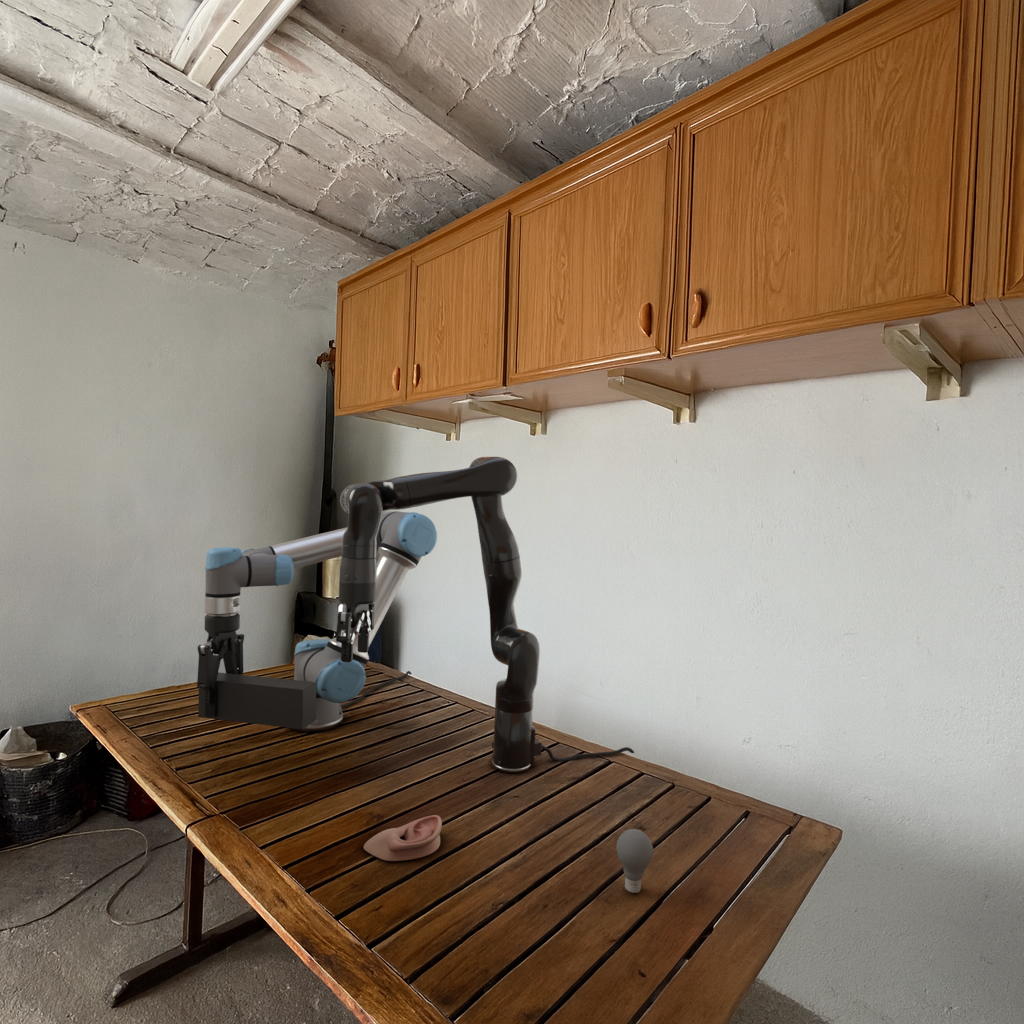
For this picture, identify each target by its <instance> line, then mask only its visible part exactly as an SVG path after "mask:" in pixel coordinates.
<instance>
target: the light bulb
mask: <svg viewBox="0 0 1024 1024" xmlns="http://www.w3.org/2000/svg"><path fill="white" fill-rule="evenodd" d="M615 849H616V854H617V857H618V859H619V861H620V863H621V865H622V867H623V873H624V874H623V875H624V876H625V878H624V888H625V890H627V891H628V892H630V893H634V894H635V893H639V892H640V891H641V889H642V887H641V886H642V879H643V877H644V875H645V871H646V868H647V867H648V866H649V864H650V863H651V861H652V859H653V855H654V847H653V843H652V841H651V838H649V836H648V835H647V834H646V833H645V832H643V831H642V830H641V829H636V828H629V829H627V830H625V831H623V832H622V833H621V834H620V835H619V837H618V839H617V841H616V847H615Z"/></svg>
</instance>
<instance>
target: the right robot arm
mask: <svg viewBox="0 0 1024 1024" xmlns="http://www.w3.org/2000/svg"><path fill="white" fill-rule="evenodd" d="M517 481H518V472H517V469H516V466H515V465H514V464H513V463H512V462H511V460H509V459H507V458H506V457H505V458H504V457H503V456H502V457H501V456H480V457H477V458H475V459H474V460H473V461H471V463H470V465H469V467H466V468H461V469H454V470H445V471H432V472H431V471H429V472H421V473H414V474H407V475H402V476H401V475H400V476H397V477H393V478H388V479H383V480H372V481H363V482H362V481H361V482H355V483H351V484H349V485H347V486H346V487H345V488H344V489H343V491H342V492H341V494H340V498H339V503H340V506H341V508H342V510H343V511H344V512H345V513H346V514H348V517H347V518H348V520H347V527H348V528H347V527H346V528H347V530H346V531H345V532H344V534H343V539H342V556H341V560H340V566H339V582H338V601H339V603H342V604H344V605H345V608H344V611H338V612H337V616H336V617H337V618H336V634H335V638H336V642H340V643H342V644H341V661H342V662H351V661H352V660H353V641H354V638H355V635H356V634H358V633H359V635H358V652H361V653H366V652H367V653H368V652H369V648H370V646H369V634H370V633H371V630H373V629H374V606H375V605H374V603H373V602H375V600H376V582H377V564H376V563H377V551H376V549H377V533H378V530H379V525H380V521H381V516H382V514H383V511H384V512H385V511H389V510H393V511H399V510H406V509H412V508H417V507H422V506H427V505H431V504H435V503H440V502H445V501H449V500H456V499H461V498H468V497H471V501H472V505H473V509H474V514H475V518H476V525H477V532H478V539H479V540H478V541H479V546H480V553H481V562H482V563H481V564H482V569H483V575H484V580H485V581H484V582H485V587H486V596H487V603H488V610H489V629H490V631H489V632H490V633H489V634H490V648H491V652H492V655H493V657H494V659H496V661H498V662H499V663H501V664H502V665H505V666H507V674H506V678H503V679H500V680H499V681H497V682H496V685H495V701H494V725H493V741H492V743H491V750H492V759H491V760H492V761H491V765H492V767H493V769H495V770H496V771H500V772H503V773H508V774H518V773H519V774H520V773H524V772H526V771H528V770H530V769H531V768H534V767H535V757H538V756H539V757H540V756H542V750H544V751H545V752H547V754H548V756H549V758H550V759H551V760H552V761H554V762H567V761H574V760H576V759H577V760H578V759H583V758H592V757H593V758H594V757H604V756H615V755H618V754H621V753H623V752H629V753H631V754H635V751H634V750H633V749H632V748H631V747H629V746H626V747H622V748H619V749H617V750H611V751H602V752H588V753H587V752H585V753H580V754H579V753H578V754H575V755H572V756H569V757H562V758H561V757H555V756H554V755H553V752H552V750H551V749H550V748H548V747H547V746H545V745H543V744H542V743H543V742H542V741H540V740H539V739H537V738H536V727H535V726H533V715H534V696H535V695H534V693H535V689H536V686H537V685H538V679H539V671H540V670H539V669H540V660H541V645H540V641H539V639H538V637H537V636H536V634H534V633H533V632H532V631H531V632H530V631H528V630H524V629H521V628H519V625H518V622H517V615H516V600H517V597H518V594H519V591H520V587H521V584H522V580H523V563H522V558H521V557H522V556H521V551H520V546H519V543H518V541H517V539H516V536H515V533H514V532H513V530H512V529H511V526H510V524H509V522H508V520H507V517H506V516H505V515H506V514H505V512H504V507H503V499H502V497H503V496H505V495H507V494H509V493H510V492H511V491H513V489H514V488H515V486H516V484H517V483H518V482H517ZM341 631H342V634H341ZM350 634H351V635H350Z"/></svg>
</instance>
